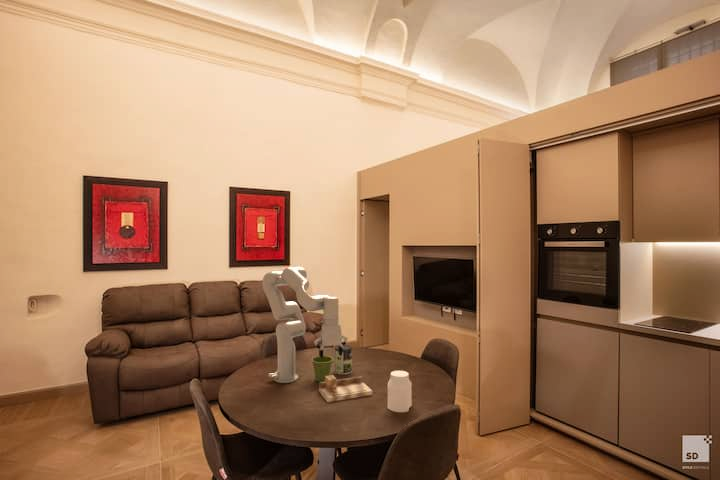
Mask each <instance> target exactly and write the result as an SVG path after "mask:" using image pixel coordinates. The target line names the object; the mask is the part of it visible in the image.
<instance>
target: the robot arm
mask: <svg viewBox="0 0 720 480" xmlns="http://www.w3.org/2000/svg"><path fill="white" fill-rule="evenodd" d="M307 274H308V273H307V271H306V270H305V268H303V267H301V266H292V267H291V266H290V267H285V268H284V269H283V270H277V271H270V272H267V273H265V274H264V276H263V277H262V282H261V283H262V289H263V292H264V294H265V295H266V297H267V300H268V303H269V306H270V307H269V308H271V312H272V316H273V317H274V319H275V320H276V321H281V322H280V323H278V324H277V325H276V328H275V335H276V341H277V343H276V344H277V370H275V372H273V373H270V372H269V373H268V378H271V379H274V381H275V382H276V383H280V384H288V383H289V384H291V383H293V382H296V381H298V380H299V375H298V374H296V345H295V342H294V340H293V338H296V337H299V336H302V335H304V334H305V333H306V328H307V326H306V322H305V320H304V319H305V318H304V316H303V314H302V311H301V310H302V309H301V308H300V306H301V307H302V308H303V309H305V310H306V311H307V312H311V313H313V312H317V311H323V312H322V313H323V314H322V319H321V320H320V323H321V329H320V336H319V337H318V338H316V339H315V340H314V341H313V343H314V345H315V347H316V348H318V356H320V357H321V358H323V356H324V348H325V347H333V346H334V347H335V346H339V355H340V356H342V354H343V347H344V345H347V342H348V339H349V338H348V336H347V337H346V336H345V335H343V333H342V327H341V326H342V325H341V323H339V298H338V296H332V295H331V296H330V295H326V294H319V295H312V296H311V295H310V294H309V293H307V290H308V289H309V287H310V282H309V280H308V279H306V278H307V276H308V275H307ZM282 286H283V287H284V286H288V287H290V288H291V289H292V290H293V291H294V292H295V295H296V300H297V302H298V303H297V302H296V301H294V300H293V301H291V300H290V301H289V300H288V301H286V300H285V297H284V294H283V292H282V291H281V289H279V288H278V287H282ZM299 305H300V306H299ZM287 319H288V320H287ZM283 320H285V321H283ZM319 342H320V344H319Z"/></svg>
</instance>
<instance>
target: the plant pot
mask: <svg viewBox="0 0 720 480" xmlns="http://www.w3.org/2000/svg"><path fill="white" fill-rule="evenodd" d="M333 361H334V357H332V356H329V355H323V358H321V357H320V356H319V355H317V356H313V357H312V358H311V362H312V366H313V371H314V378H315V381H317V382H325V376H329V375H331V368H332V363H333Z"/></svg>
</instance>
